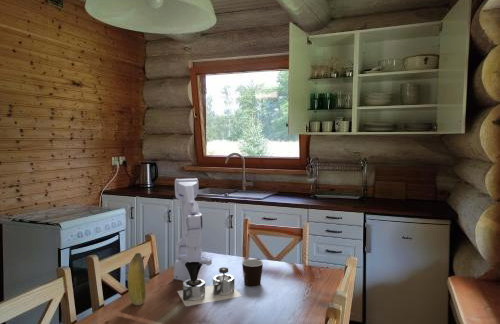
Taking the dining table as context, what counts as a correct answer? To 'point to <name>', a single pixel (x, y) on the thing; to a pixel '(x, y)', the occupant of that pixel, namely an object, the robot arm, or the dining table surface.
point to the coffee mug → (252, 272)
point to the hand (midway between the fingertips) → (194, 280)
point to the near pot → (193, 291)
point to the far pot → (223, 285)
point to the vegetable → (136, 280)
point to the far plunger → (223, 270)
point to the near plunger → (194, 283)
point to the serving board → (209, 296)
